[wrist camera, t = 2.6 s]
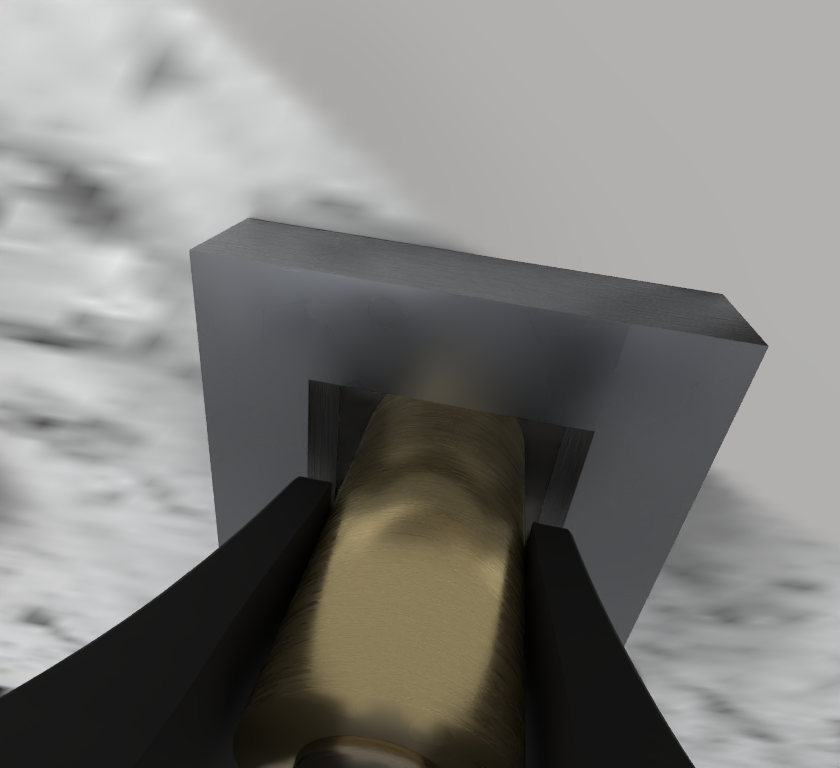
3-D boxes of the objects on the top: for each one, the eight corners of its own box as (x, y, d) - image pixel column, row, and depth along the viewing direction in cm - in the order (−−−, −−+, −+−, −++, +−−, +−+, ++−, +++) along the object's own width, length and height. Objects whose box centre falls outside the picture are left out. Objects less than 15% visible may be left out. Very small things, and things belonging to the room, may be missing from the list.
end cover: (507, 518, 14) (494, 903, 7) (363, 490, 14) (232, 837, 8) (541, 393, 12) (560, 765, 5) (373, 363, 12) (211, 683, 6)
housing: (589, 614, 15) (599, 695, 13) (262, 546, 15) (225, 612, 13) (722, 294, 10) (768, 345, 8) (247, 218, 11) (189, 250, 9)
